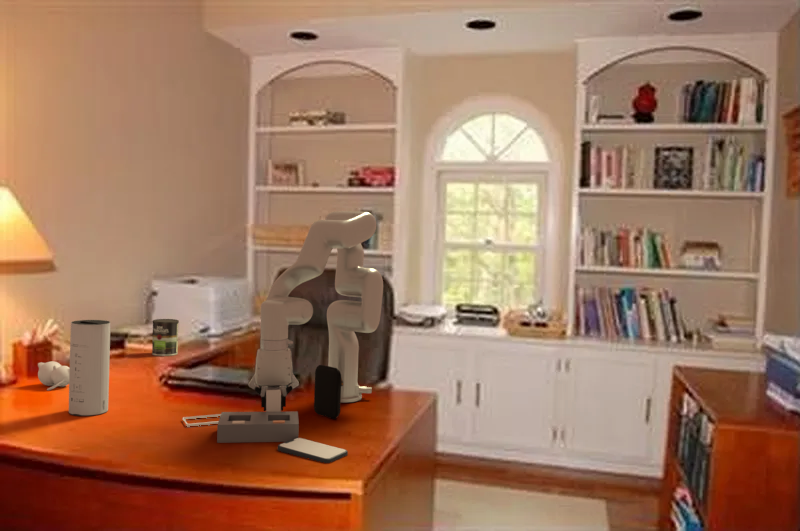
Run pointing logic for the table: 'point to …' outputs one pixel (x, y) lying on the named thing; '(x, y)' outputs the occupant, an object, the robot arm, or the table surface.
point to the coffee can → (165, 337)
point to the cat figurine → (53, 374)
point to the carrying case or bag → (327, 391)
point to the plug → (273, 399)
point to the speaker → (89, 367)
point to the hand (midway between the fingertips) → (273, 408)
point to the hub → (257, 427)
